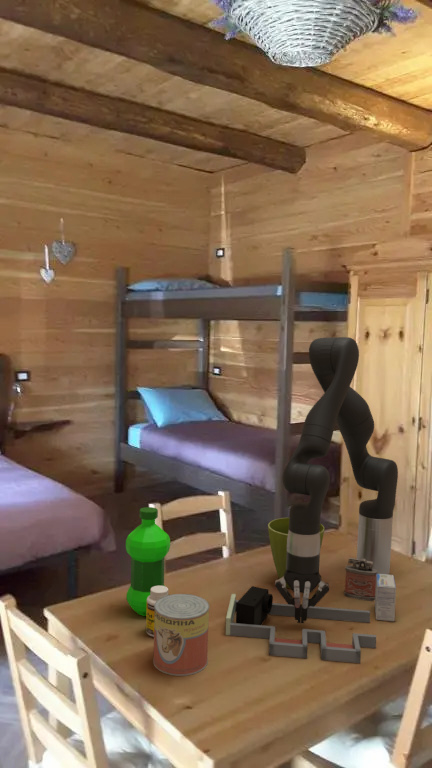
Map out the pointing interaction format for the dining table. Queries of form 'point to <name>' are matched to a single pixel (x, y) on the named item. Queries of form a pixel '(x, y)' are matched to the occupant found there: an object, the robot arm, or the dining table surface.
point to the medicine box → (385, 597)
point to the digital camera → (254, 606)
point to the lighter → (360, 580)
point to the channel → (306, 633)
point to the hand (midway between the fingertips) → (300, 621)
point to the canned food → (181, 634)
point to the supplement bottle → (154, 595)
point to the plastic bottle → (146, 559)
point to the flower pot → (282, 543)
